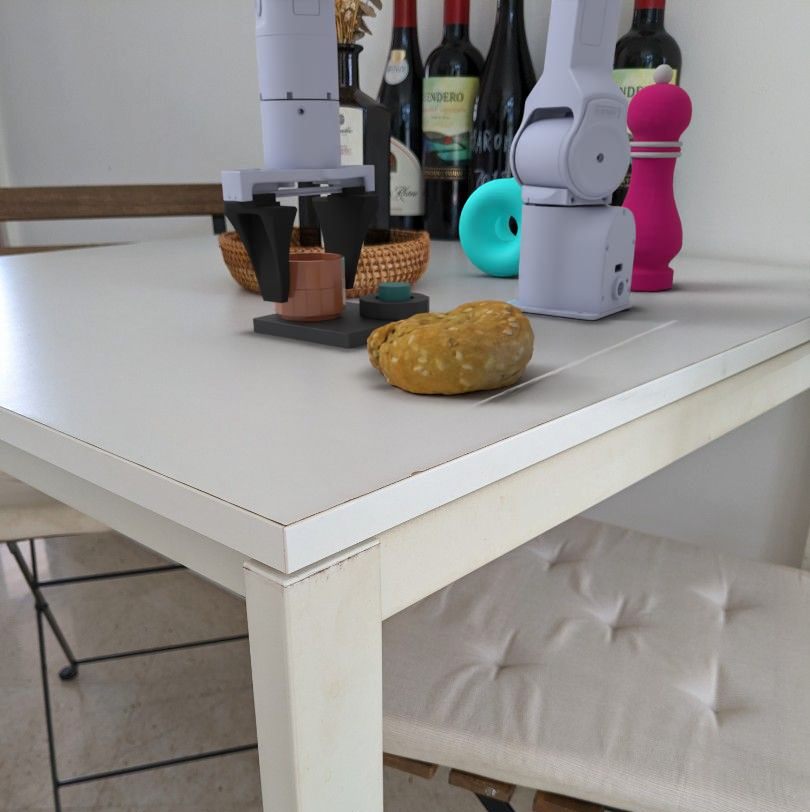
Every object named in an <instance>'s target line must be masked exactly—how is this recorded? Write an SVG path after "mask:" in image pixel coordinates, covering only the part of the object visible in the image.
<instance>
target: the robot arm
mask: <svg viewBox="0 0 810 812" xmlns="http://www.w3.org/2000/svg"><path fill="white" fill-rule="evenodd" d="M253 2H254V3H253V4H254V17H255V18H254V19H255V28H254V38H255V39H254V40H255V50H256V51H255V52H256V67H257V81H258V96H259V107H260V120H261V134H262V149H263V150H262V151H263V163H264V167H260V168H258V167H257V168H248V169H247V168H246V169H235V170H234V169H233V170H221V172H220V177H221V186H222V187H221V188H222V197H223V199H222V200H223V209H224V215H225V217H226V218H227V220H228V222H229V223H230V225H231V226H232V228H233V229H234V231H235V233H236V234H237V236H238V238H239V240H240V241H241V244H242V245H243V248H244V250H245V252H246V254H247V256H248V259H249V262H250V264H251V267H252V269H253V273H254V275H255V278H256V282H257V285H258V288H259V291H260V294H261V297H262V300H263V302H268V303H269V302H270V303H274V302H276V303H285V302H288V298H289V290H290V273H289V253H291V252H290V251H291V241H292V235H293V229H294V225H295V221H296V217H297V213H298V207H297V206H295V205H281V201H280V200H279V201H278V200H277V199H279V198H292V197H303V196H314V197H312V199H311V203H312V205H313V208H314V211H315V214H316V217H317V220H318V223H319V228H320V231H321V232H320V233H321V236H322V241H323V248H324V253H335V254H341V255H343V256H344V262H345V290H352V289H354V286H355V281H356V278H357V277H356V276H357V272H358V266H359V261H360V257H361V254H362V248H363V245H364V242H365V239H366V236H367V233H368V231H369V228H370V226H371V223H372V221H373V219H374V217H375V216H376V213H377V212H378V210H379V209H380V195H379V194H373V193H366V192H375V190H376V189H375V188H376V187H375V184H376V183H375V182H376V181H375V165H374V164H350V165H349V164H346V165H345V164H344V165H342V146H341V144H342V143H341V142H342V141H341V119H340V118H341V116H340V115H341V114H340V111H341V110H340V89H339V88H340V86H339V60H338V59H339V58H338V57H339V56H338V30H337V26H336V25H337V24H336V0H253ZM622 4H623V0H551V4H550V5H551V6H550V12H549V13H550V14H549V21H548V22H549V23H548V29H547V39H546V47H545V55H544V64H543V71H542V74H541V75H540V78H539V79H538V80H537V81H536V84H535V85H534V87H533V88H532V90H531V91H530V93H529V94H528V96H527V97H526V99H525V103H524V110H523V116H522V121H521V123H520V126H519V128H518V129H517V132H516V133H515V135H514V137H513V140H512V142H511V145H510V150H509V167H510V171H511V174H512V178H513V177H514V179H515V181H516V182H517V183H518V185H519V186H520V187H521V188H522V195H521V200H523V202H526V203H523V204H522V222H521V242H520V262H519V274H518V284H517V298H513V299H510V300H506V301H505V302H506V303H508V304H510V305H513V306H515V307H518V308H519V309H521V311H522V313H530V314H537V315H538V314H540V315H544V316H545V315H547V316H552V317H553V316H554V317H561V318H571V319H578V320H585V321H596V320H599V319H601V318H605V317H607V316H610V315H612V314H616V313H618V312H621V311H624V310H628V309H630V308H632V307H633V302H632V301H630V296H631V290H630V288H631V278H632V268H633V259H634V249H635V239H636V227H635V220H634V216H633V213H632V212H631V211H630V210H629V209H628V208H625V207H622V206H619V205H615V206H614V205H611V204H612V202H613V201H612V198H613V193H614V192H615V191H616V190H617V189H618V188H619V187H620V185H621V184H622V182H623V181H624V180H625V178H626V175H627V173H628V171H629V170H628V169H629V167H630V162H631V157H630V153H631V149H630V148H631V147H630V142H631V141H630V138H629V137H630V136H629V133H628V126H627V122H626V121H627V111H628V106H629V103H630V101H629V100H628V98H627V96H626V95H625V94H624V93H623V91H622V89H621V88H620V86H619V85H618V84H617V82H616V81H615V79H614V78H613V68H614V67H613V66H614V60H615V53H616V48H617V47H616V46H617V39H618V34H619V26H620V19H621V13H622V12H621V11H622ZM307 182H309V183H310V182H312V184H313V185H323V186H313V187H311V186H310V187H296V183H307ZM326 185H327V186H326ZM295 187H296V188H295ZM280 188H282V189H280ZM317 195H325V196H317Z"/></svg>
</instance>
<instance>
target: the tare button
mask: <svg viewBox="0 0 810 812" xmlns="http://www.w3.org/2000/svg"><path fill="white" fill-rule="evenodd" d="M411 286H412V285H411V283H409V282H405V281H385V282H380V283H378V284H377V293H378V300H384V301H403V300H410V299H411V292H412V291H411V289H412V288H411Z"/></svg>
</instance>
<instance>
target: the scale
mask: <svg viewBox="0 0 810 812" xmlns="http://www.w3.org/2000/svg"><path fill="white" fill-rule="evenodd" d="M421 313H430V296H429V295H427V294H423V293H421V292H420V293H419V292H414V291H413V292H412V291H411V299H410V300H403V301H384V300H378V292H372V293H367V294H363V295H361V296H360V297H359V298H358V302H353V301H346V310H345V311H344V312H342V313H341V316H339V317H337V318H334V319H330V320H323V321H292V320H286V319H283V318H281V317H280V314H277V313H276V312H275V313H271V314H266V315H262V316H258V317H253V318H252V325H253V333H255V334H262V335H267V336H274V337H278V338H279V337H280V338H285V339H289V340H290V339H291V340H296V341H301V342H307V343H313V344H318V345H325V346H330V347H336V348H340V349H341V348H343V349H346V350H347V349H348V350H350V349H353V348H357V347H361V346H364V345H367V344H368V343H367V339H368V338H369V337H370V335H371V333H372V332H373V331H374V330H376V329H377V328H380V327H383V326H385V325H387V324H390V323H391V322H398V321H401V320H406V319H408V318H410V317H412V316H414V315H416V314H421Z"/></svg>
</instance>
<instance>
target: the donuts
mask: <svg viewBox="0 0 810 812" xmlns="http://www.w3.org/2000/svg"><path fill="white" fill-rule="evenodd" d="M521 195H522V188H521V187H520V186H519V185H518V183H517V182H516V181H515V179H514V177H513V176H512V177H510V178H496V179H492V180H490V181H487V182H485V183H483V184H482V185H480V186H479V187H478V188H477V189H475V190H474V191H473V192H472V193H471V194H470V196H469V197H468V199H467V200H466V202H465V204H464V205H463V208H462V210H461V214H460V217H459V221H458V222H459V223H458V235H459V241H460V244H461V247H462V250H463V252H464V254H465V256H466V257H467V259H468V260H469V262H471V264H472V265H473V266H475V267H476V268H477V269H478V270H479V271H481V272H483V273H485V274H487V275H489V276H492V277H498V278H504V277H505V278H507V277H508V278H509V277H513V276H516V275H519V262H520V242H521V222H522V204H523V203H526V202H523V200H521ZM511 217H512V218H514V220H515V222H516V224H517V233H516V235H515V234H514V233H513V232H512V231H511V228H510V218H511Z"/></svg>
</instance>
